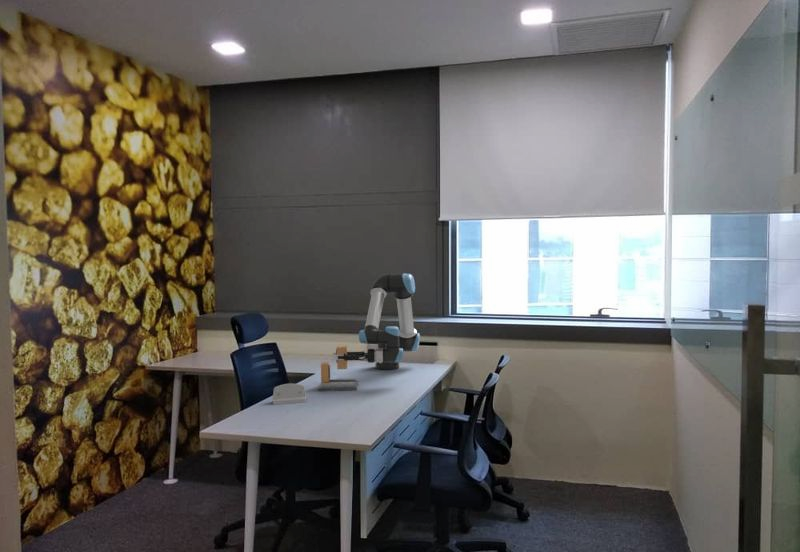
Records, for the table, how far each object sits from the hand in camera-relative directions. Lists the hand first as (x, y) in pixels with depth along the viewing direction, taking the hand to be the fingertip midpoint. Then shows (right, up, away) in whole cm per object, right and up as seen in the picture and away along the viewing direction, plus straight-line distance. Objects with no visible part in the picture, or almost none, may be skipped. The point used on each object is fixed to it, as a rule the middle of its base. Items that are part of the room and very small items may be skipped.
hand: (332, 356), depth 311 cm
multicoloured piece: (+3, -17, +2) cm, 18 cm away
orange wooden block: (+5, -7, 0) cm, 8 cm away
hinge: (-19, -19, -25) cm, 37 cm away
